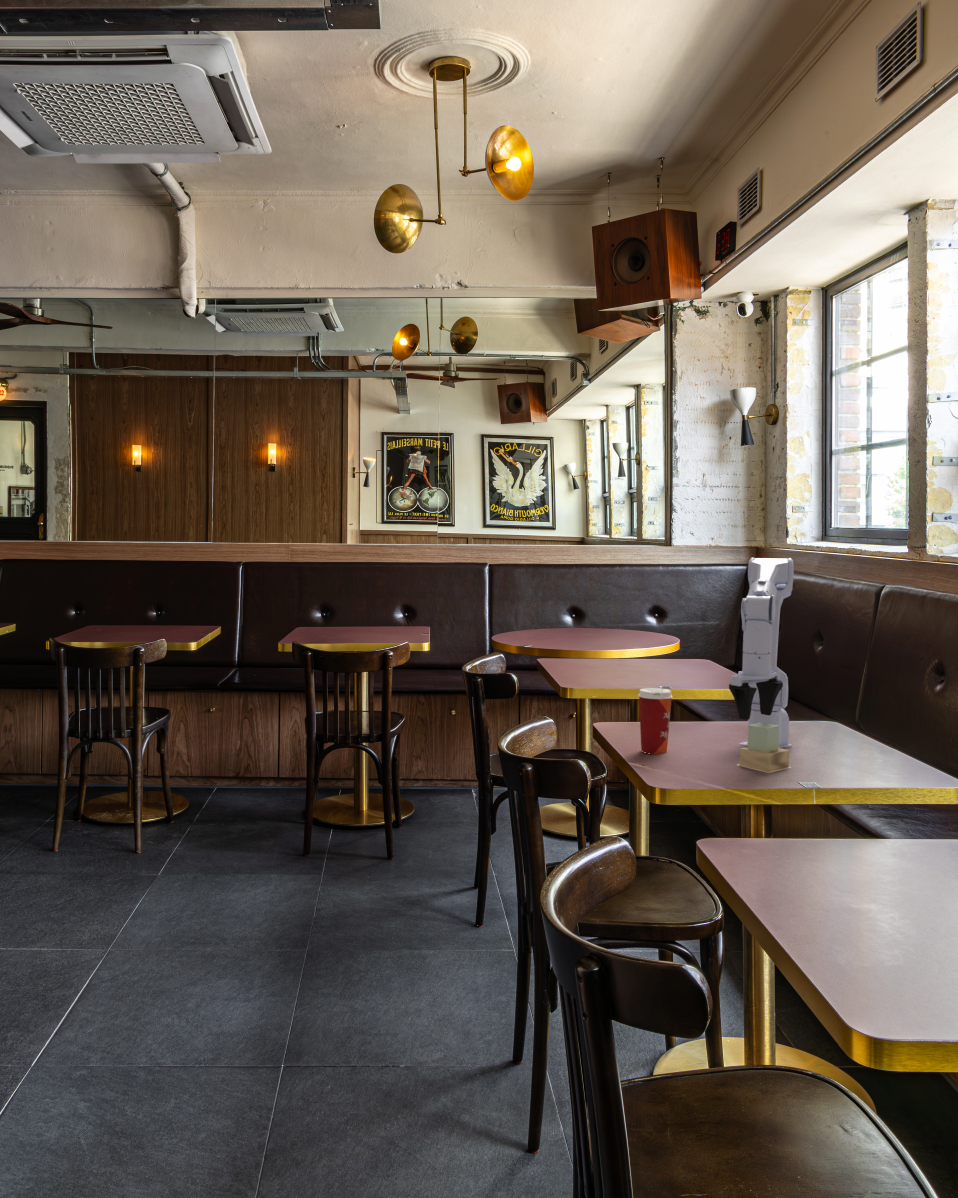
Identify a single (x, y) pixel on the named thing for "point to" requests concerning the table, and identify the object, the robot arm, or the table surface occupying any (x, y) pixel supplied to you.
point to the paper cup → (654, 719)
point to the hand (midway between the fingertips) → (755, 716)
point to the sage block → (763, 737)
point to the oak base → (764, 759)
